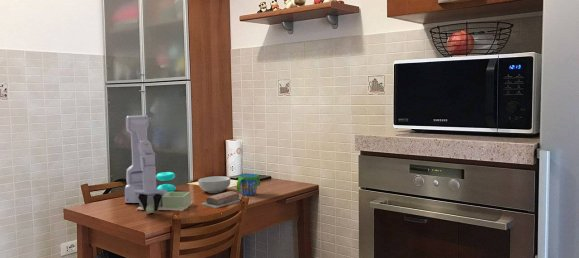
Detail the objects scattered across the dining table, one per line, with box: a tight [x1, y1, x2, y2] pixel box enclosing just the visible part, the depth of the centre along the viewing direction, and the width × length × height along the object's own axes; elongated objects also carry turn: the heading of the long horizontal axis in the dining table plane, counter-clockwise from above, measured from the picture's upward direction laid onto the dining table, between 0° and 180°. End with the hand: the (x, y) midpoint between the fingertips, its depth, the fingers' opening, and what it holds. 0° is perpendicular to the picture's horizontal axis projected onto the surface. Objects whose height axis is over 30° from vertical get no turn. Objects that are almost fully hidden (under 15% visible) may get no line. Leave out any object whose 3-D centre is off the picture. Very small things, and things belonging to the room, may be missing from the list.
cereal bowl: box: [197, 175, 231, 194], centre depth 264 cm, size 17×17×7 cm
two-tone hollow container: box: [136, 191, 193, 212], centre depth 233 cm, size 22×14×6 cm, turn 84°
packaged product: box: [201, 190, 242, 209], centre depth 238 cm, size 18×5×10 cm
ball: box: [145, 204, 156, 214], centre depth 221 cm, size 4×4×4 cm
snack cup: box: [236, 173, 261, 197], centre depth 255 cm, size 16×10×10 cm
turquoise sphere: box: [156, 171, 177, 193], centre depth 267 cm, size 10×10×10 cm
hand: (150, 210), depth 221 cm, fingers closed on ball, 4 cm apart
